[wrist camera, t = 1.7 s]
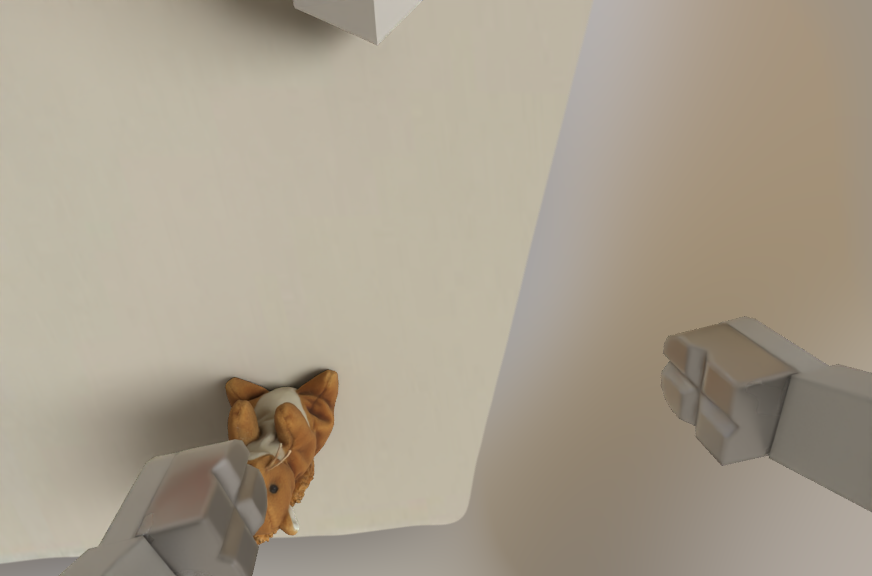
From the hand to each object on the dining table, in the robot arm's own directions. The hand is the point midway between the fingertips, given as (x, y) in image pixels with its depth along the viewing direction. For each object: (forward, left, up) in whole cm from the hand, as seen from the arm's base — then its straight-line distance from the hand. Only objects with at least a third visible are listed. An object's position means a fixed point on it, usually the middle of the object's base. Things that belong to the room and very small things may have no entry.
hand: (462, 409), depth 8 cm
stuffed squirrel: (-16, -22, -29) cm, 39 cm away
